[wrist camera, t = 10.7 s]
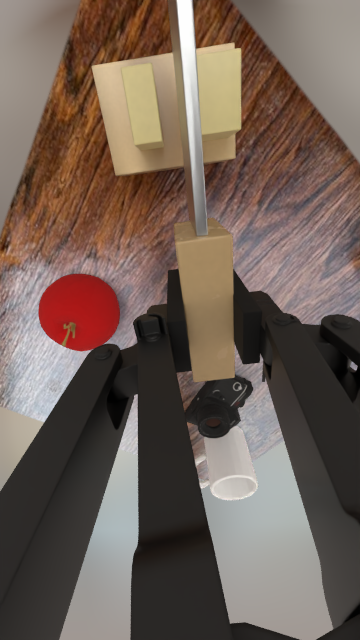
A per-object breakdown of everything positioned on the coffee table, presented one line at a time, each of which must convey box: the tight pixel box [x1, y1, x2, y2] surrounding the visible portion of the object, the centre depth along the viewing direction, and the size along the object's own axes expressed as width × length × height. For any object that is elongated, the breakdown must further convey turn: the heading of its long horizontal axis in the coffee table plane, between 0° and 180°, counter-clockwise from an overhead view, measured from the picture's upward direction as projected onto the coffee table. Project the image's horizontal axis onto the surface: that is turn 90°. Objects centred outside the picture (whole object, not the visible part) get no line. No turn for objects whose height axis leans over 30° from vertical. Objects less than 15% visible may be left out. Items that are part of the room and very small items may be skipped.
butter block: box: [196, 48, 241, 142], centre depth 18 cm, size 4×4×4 cm
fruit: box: [39, 274, 120, 351], centre depth 29 cm, size 9×9×10 cm
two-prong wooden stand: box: [92, 43, 235, 176], centre depth 22 cm, size 10×7×6 cm, turn 97°
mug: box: [195, 426, 258, 500], centre depth 46 cm, size 8×12×10 cm, turn 101°
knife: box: [168, 0, 235, 382], centre depth 11 cm, size 20×2×5 cm, turn 7°
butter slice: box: [121, 63, 164, 151], centre depth 18 cm, size 2×4×4 cm, turn 7°
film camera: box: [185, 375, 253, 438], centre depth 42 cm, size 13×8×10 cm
